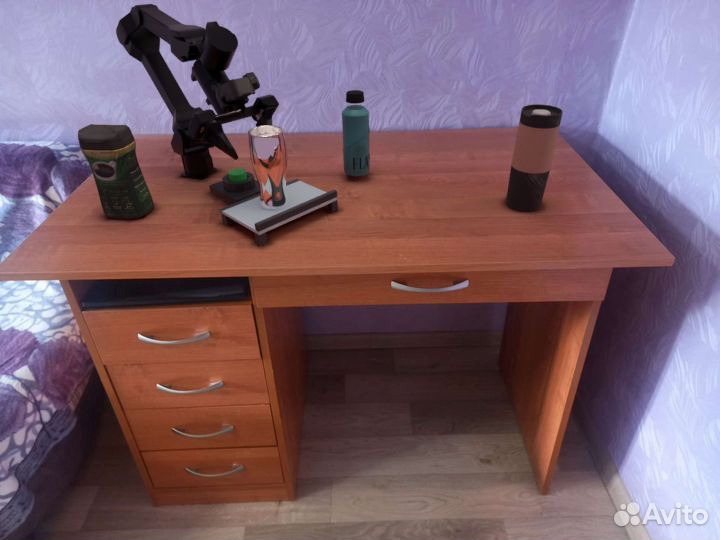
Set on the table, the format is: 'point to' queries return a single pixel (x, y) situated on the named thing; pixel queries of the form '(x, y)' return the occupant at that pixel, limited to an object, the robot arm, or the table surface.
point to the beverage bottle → (355, 135)
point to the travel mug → (532, 156)
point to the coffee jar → (116, 170)
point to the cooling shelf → (264, 220)
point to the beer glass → (270, 165)
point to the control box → (235, 189)
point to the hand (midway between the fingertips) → (256, 152)
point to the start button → (237, 175)
